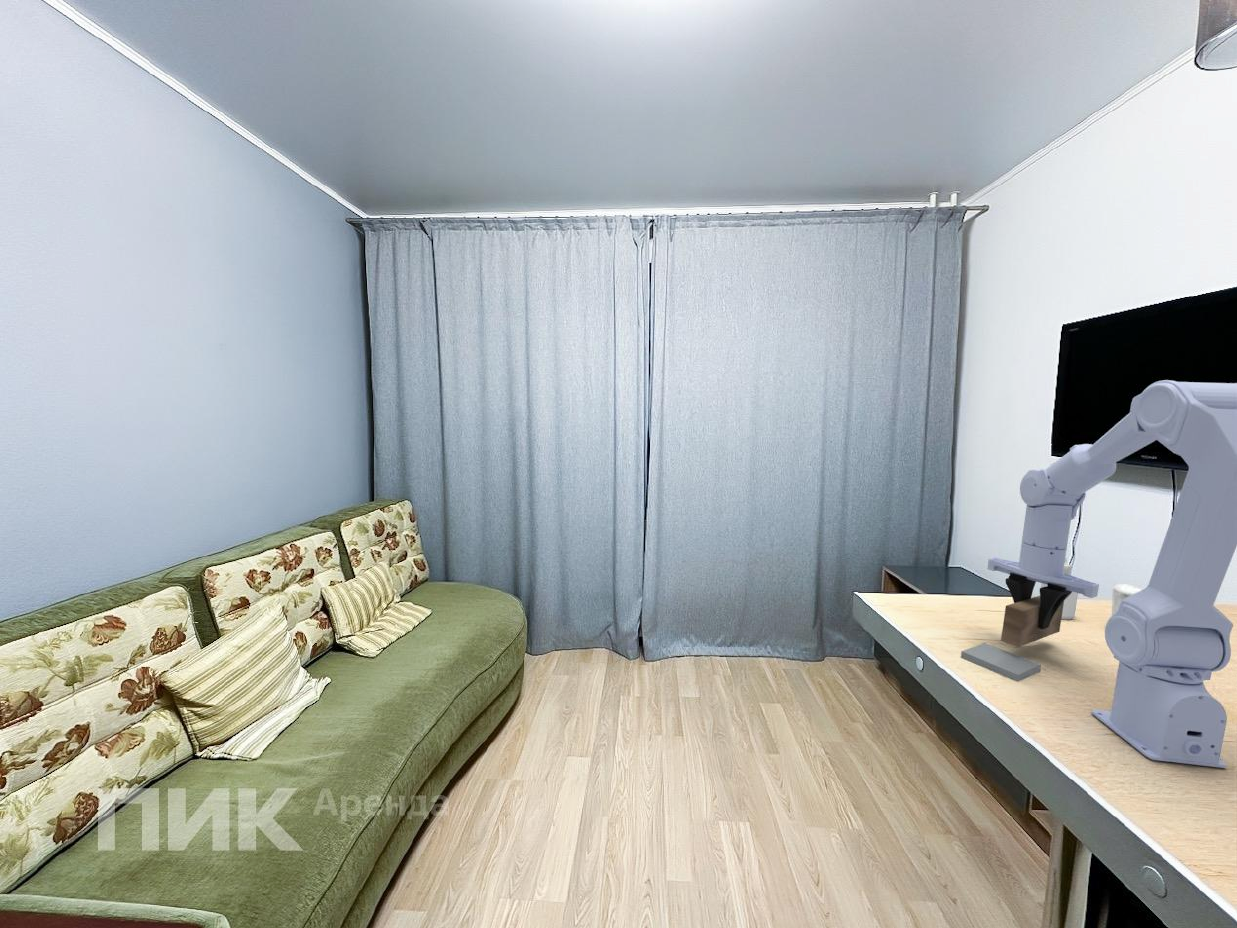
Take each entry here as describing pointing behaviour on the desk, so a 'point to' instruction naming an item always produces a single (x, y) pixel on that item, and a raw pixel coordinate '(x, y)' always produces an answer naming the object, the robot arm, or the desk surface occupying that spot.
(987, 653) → the tile
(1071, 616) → the eye dropper bottle
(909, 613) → the desk surface
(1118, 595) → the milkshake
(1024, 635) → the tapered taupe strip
